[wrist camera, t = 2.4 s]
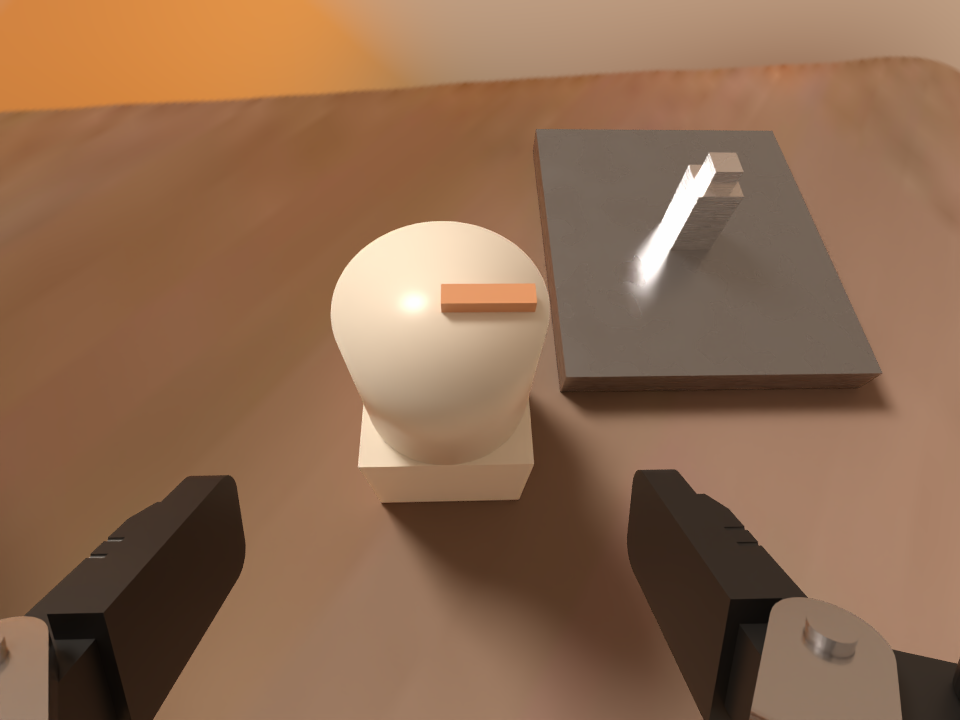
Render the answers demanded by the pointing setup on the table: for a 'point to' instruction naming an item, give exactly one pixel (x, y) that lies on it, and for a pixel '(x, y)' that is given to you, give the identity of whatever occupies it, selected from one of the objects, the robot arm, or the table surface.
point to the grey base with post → (688, 266)
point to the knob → (443, 361)
